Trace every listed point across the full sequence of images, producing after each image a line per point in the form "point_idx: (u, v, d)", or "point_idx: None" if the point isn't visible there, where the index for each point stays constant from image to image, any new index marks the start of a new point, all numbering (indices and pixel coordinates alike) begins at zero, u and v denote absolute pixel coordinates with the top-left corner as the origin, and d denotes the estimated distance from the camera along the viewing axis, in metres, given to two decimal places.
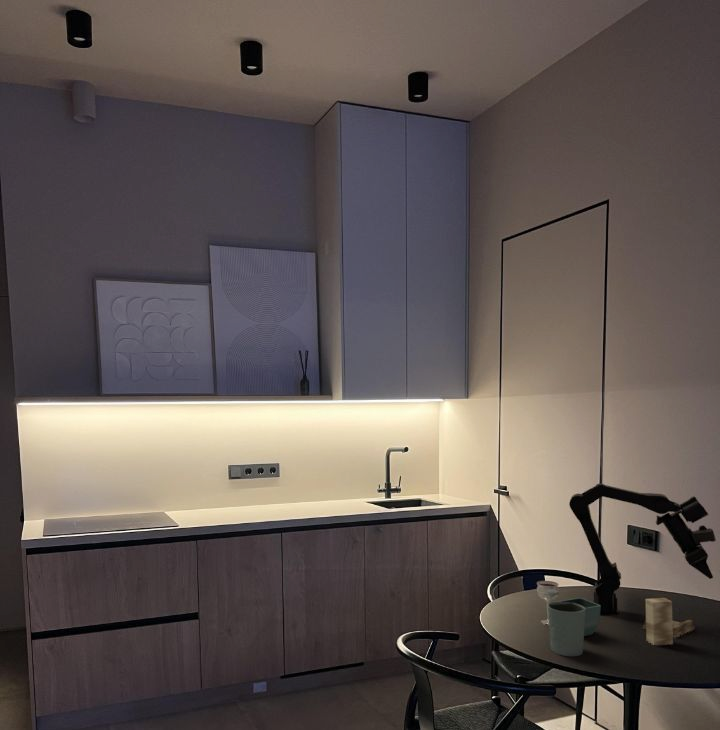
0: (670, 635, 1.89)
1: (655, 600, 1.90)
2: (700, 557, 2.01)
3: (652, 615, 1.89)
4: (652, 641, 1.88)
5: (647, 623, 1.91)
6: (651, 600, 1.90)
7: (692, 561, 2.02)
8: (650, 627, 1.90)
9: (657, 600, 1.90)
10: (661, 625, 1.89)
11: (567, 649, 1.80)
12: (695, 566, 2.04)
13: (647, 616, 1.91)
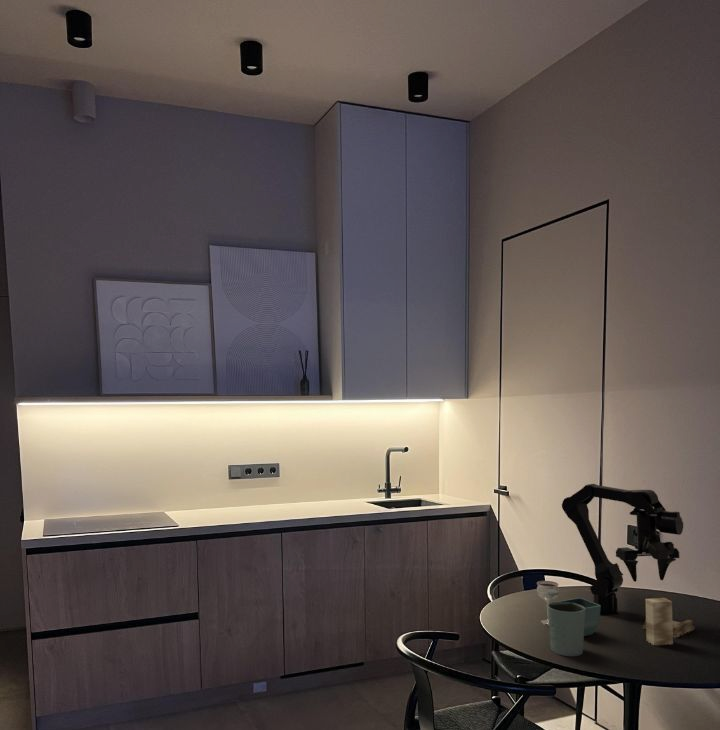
0: (670, 635, 1.89)
1: (655, 600, 1.90)
2: (621, 557, 2.06)
3: (652, 615, 1.89)
4: (652, 641, 1.88)
5: (647, 623, 1.91)
6: (651, 600, 1.90)
7: (617, 555, 2.09)
8: (650, 627, 1.90)
9: (657, 600, 1.90)
10: (661, 625, 1.89)
11: (567, 649, 1.80)
12: (625, 562, 2.09)
13: (647, 616, 1.91)
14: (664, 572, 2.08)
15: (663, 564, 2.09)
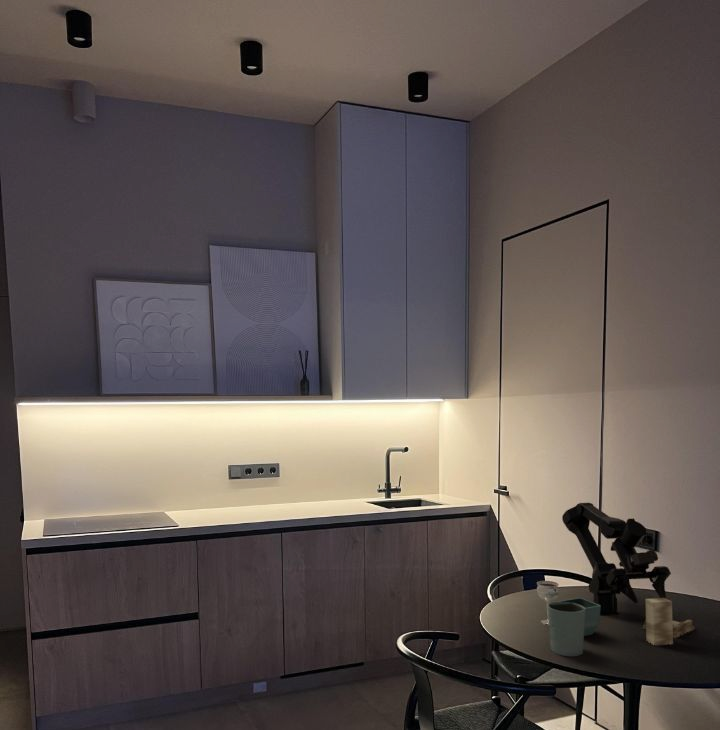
0: (670, 635, 1.89)
1: (655, 600, 1.90)
2: (612, 578, 1.98)
3: (652, 615, 1.89)
4: (652, 641, 1.88)
5: (647, 623, 1.91)
6: (651, 600, 1.90)
7: (608, 582, 1.99)
8: (650, 627, 1.90)
9: (657, 600, 1.90)
10: (661, 625, 1.89)
11: (567, 649, 1.80)
12: (620, 589, 1.98)
13: (647, 616, 1.91)
14: (663, 591, 1.96)
15: (659, 584, 1.98)
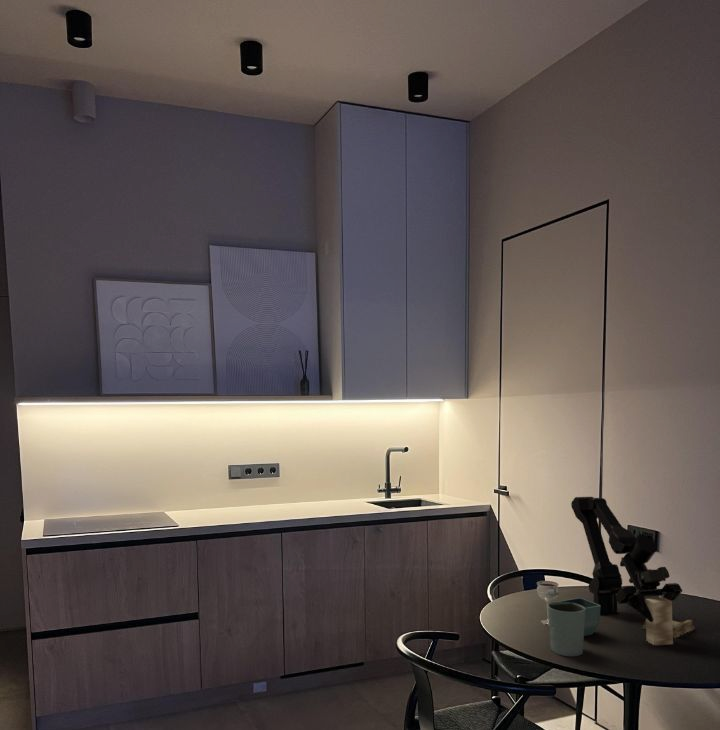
0: (670, 635, 1.89)
1: (655, 600, 1.90)
2: (622, 595, 1.93)
3: (652, 615, 1.89)
4: (652, 641, 1.88)
5: (647, 623, 1.91)
6: (651, 600, 1.90)
7: (618, 600, 1.94)
8: (650, 627, 1.89)
9: (657, 600, 1.90)
10: (661, 625, 1.89)
11: (567, 649, 1.80)
12: (635, 607, 1.93)
13: None
14: None
15: None
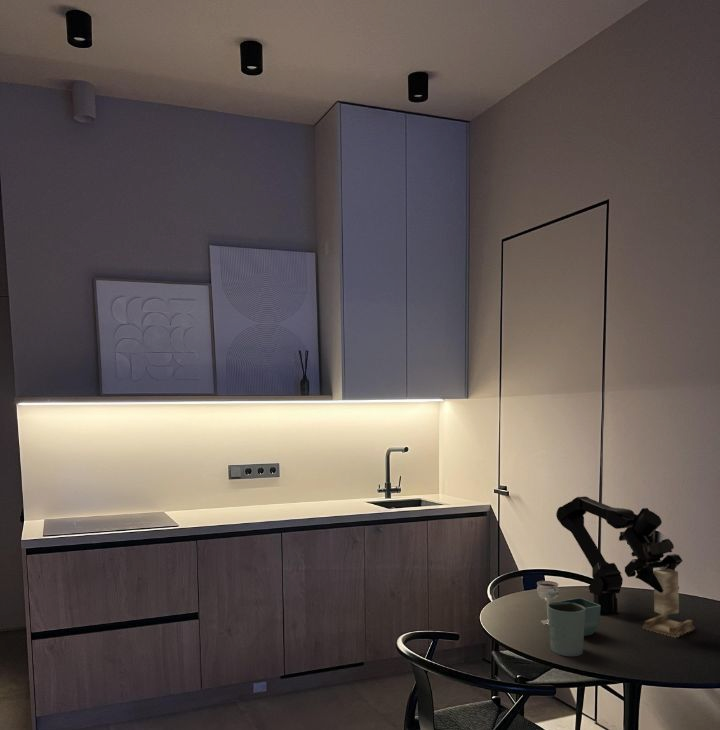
0: (676, 604, 1.95)
1: (664, 571, 1.96)
2: (633, 568, 1.96)
3: (662, 586, 1.94)
4: (662, 611, 1.93)
5: (655, 594, 1.96)
6: (660, 571, 1.96)
7: (628, 573, 1.98)
8: (659, 598, 1.95)
9: (665, 571, 1.96)
10: (670, 595, 1.94)
11: (567, 649, 1.80)
12: (643, 579, 1.98)
13: None
14: None
15: None
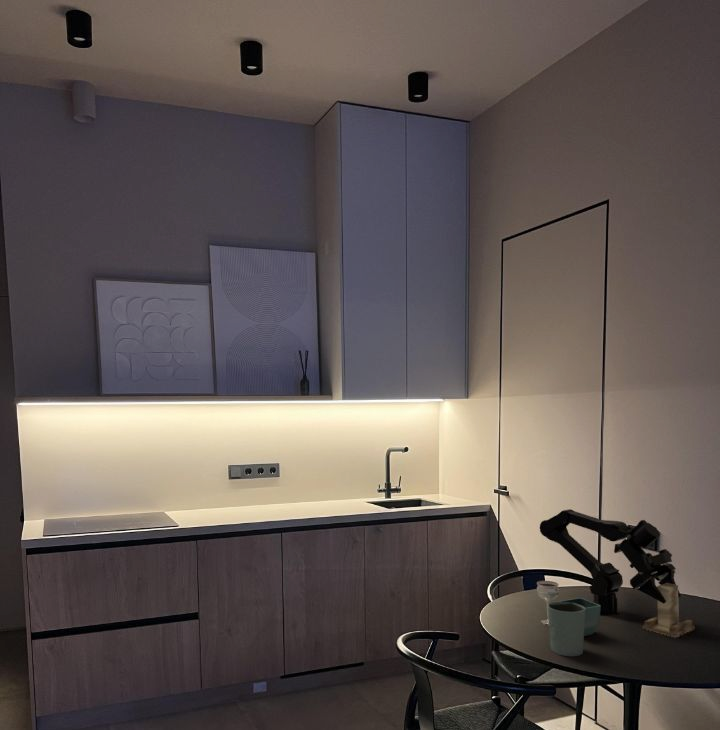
0: (677, 617, 2.02)
1: (666, 586, 2.01)
2: (640, 581, 1.99)
3: (667, 601, 1.99)
4: (667, 625, 1.99)
5: (659, 609, 2.01)
6: (663, 586, 2.01)
7: (634, 585, 2.01)
8: (664, 612, 2.00)
9: (667, 586, 2.02)
10: (673, 609, 2.00)
11: (567, 649, 1.80)
12: (644, 591, 2.01)
13: (659, 602, 2.01)
14: None
15: (670, 581, 2.07)
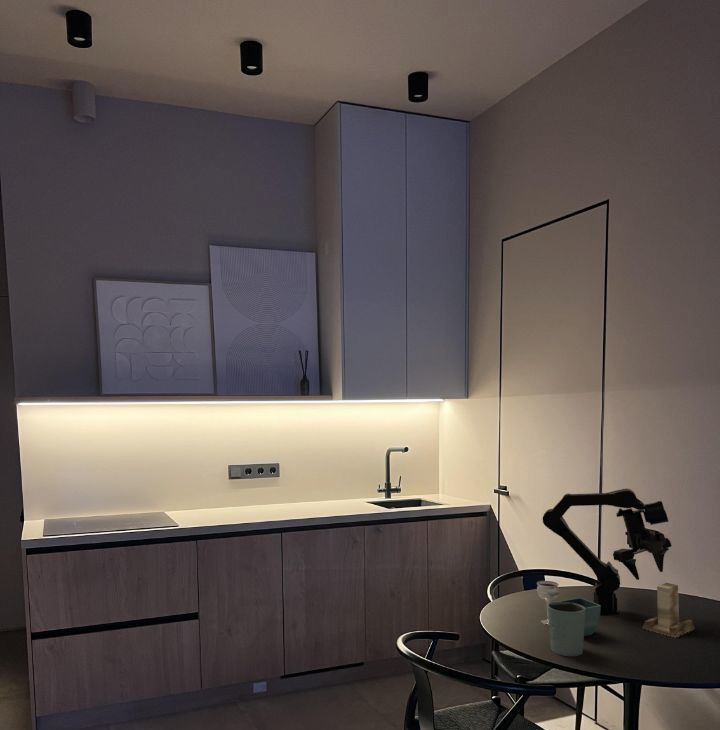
0: (677, 617, 2.02)
1: (666, 586, 2.01)
2: (620, 559, 2.12)
3: (667, 601, 1.99)
4: (667, 625, 1.99)
5: (659, 609, 2.01)
6: (663, 586, 2.01)
7: (615, 558, 2.14)
8: (664, 612, 2.00)
9: (667, 586, 2.02)
10: (673, 609, 2.00)
11: (567, 649, 1.80)
12: (624, 563, 2.15)
13: (659, 602, 2.01)
14: (662, 563, 2.15)
15: (659, 556, 2.15)
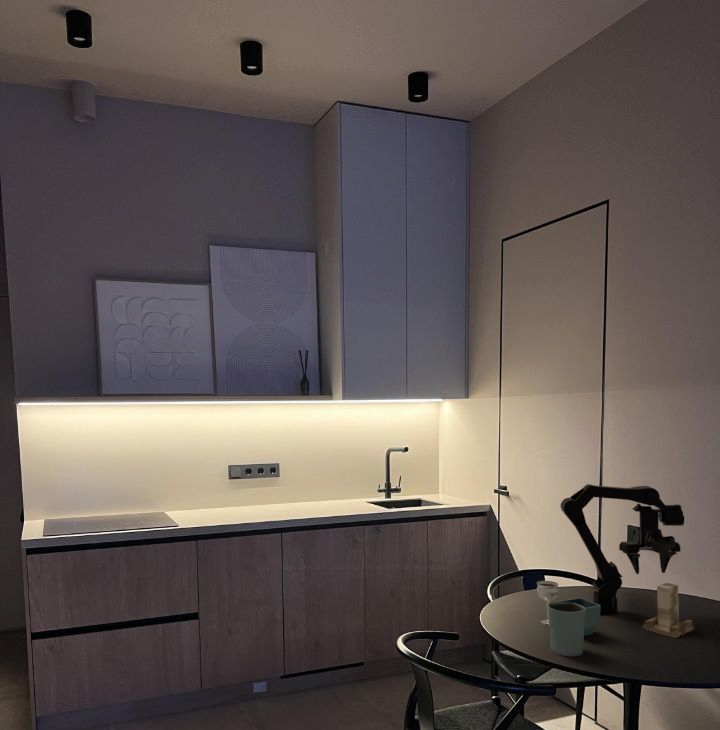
0: (677, 617, 2.02)
1: (666, 586, 2.01)
2: (624, 550, 2.15)
3: (667, 601, 1.99)
4: (667, 625, 1.99)
5: (659, 609, 2.01)
6: (663, 586, 2.01)
7: (620, 549, 2.18)
8: (664, 612, 2.00)
9: (667, 586, 2.02)
10: (673, 609, 2.00)
11: (567, 649, 1.80)
12: (628, 555, 2.18)
13: (659, 602, 2.01)
14: (666, 565, 2.17)
15: (665, 557, 2.17)
